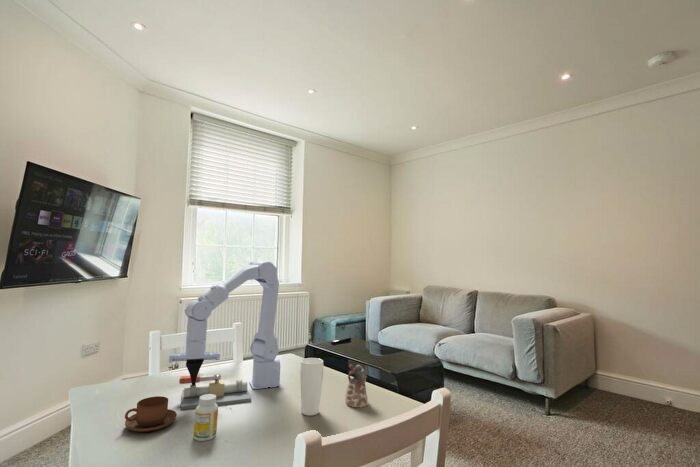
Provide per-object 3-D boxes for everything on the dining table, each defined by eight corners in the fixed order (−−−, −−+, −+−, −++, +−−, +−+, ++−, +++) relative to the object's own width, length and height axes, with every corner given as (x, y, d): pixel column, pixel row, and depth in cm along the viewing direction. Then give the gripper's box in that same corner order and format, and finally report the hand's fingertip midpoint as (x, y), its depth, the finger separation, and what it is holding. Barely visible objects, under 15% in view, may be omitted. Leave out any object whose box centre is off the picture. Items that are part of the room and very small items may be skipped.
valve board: (245, 386, 125) (245, 370, 126) (251, 401, 113) (252, 383, 113) (182, 393, 117) (183, 376, 118) (180, 409, 105) (182, 390, 105)
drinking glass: (303, 419, 101) (305, 364, 102) (295, 410, 107) (297, 358, 108) (325, 415, 104) (327, 362, 106) (316, 406, 110) (318, 356, 112)
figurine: (365, 409, 110) (366, 368, 111) (343, 406, 111) (344, 366, 112) (369, 400, 117) (370, 362, 118) (347, 398, 118) (348, 360, 119)
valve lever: (220, 378, 117) (220, 373, 117) (220, 380, 115) (221, 375, 115) (179, 381, 113) (180, 376, 113) (179, 384, 110) (179, 378, 110)
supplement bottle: (200, 444, 86) (202, 402, 87) (189, 436, 89) (192, 396, 90) (220, 436, 90) (223, 396, 91) (209, 429, 93) (212, 391, 94)
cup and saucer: (140, 441, 87) (142, 414, 87) (115, 427, 93) (117, 403, 93) (185, 423, 97) (187, 399, 97) (160, 412, 103) (162, 390, 104)
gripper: (221, 336, 117) (219, 378, 116) (173, 337, 114) (170, 381, 113) (220, 340, 111) (217, 386, 110) (168, 342, 107) (165, 389, 106)
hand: (193, 384), depth 111 cm, fingers closed, pressing on valve lever
